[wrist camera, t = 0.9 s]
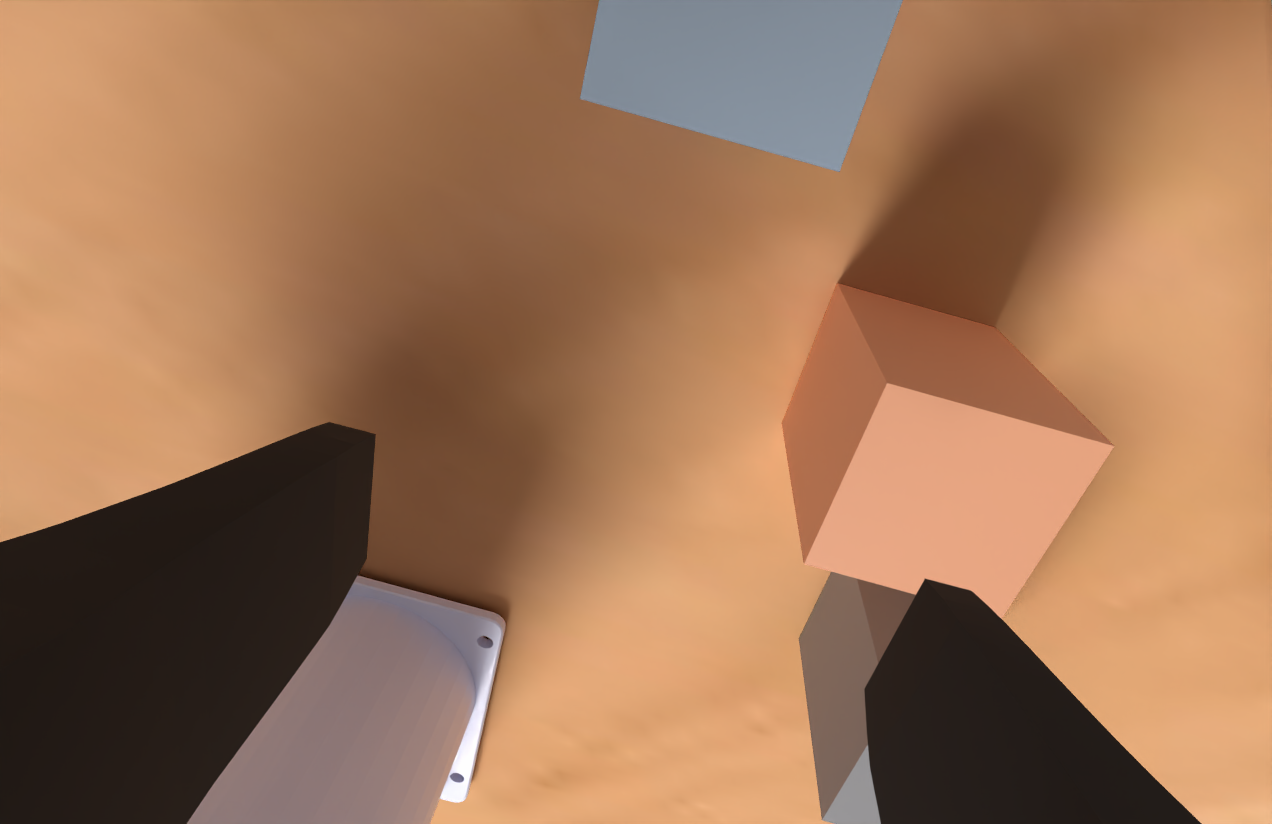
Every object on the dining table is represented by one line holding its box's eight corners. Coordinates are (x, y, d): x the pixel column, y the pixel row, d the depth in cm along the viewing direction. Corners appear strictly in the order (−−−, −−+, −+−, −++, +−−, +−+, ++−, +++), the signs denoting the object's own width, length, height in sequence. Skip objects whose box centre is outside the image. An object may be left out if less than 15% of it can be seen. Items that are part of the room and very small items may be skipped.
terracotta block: (924, 462, 19) (1001, 618, 14) (781, 423, 19) (804, 563, 14) (995, 326, 17) (1114, 446, 12) (836, 282, 17) (887, 382, 12)
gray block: (921, 671, 23) (982, 863, 17) (798, 638, 22) (822, 820, 17) (979, 575, 21) (1069, 756, 15) (846, 539, 21) (889, 707, 15)
